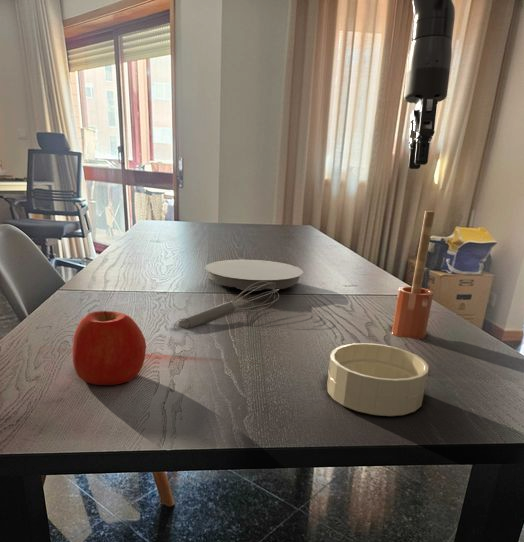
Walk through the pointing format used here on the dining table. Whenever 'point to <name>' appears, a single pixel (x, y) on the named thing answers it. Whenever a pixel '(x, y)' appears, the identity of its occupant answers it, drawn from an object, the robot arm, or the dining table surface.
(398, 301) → the crock
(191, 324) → the kitchen whisk
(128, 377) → the apple
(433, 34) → the robot arm
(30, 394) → the dining table surface
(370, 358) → the mixing bowl
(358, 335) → the dining table surface
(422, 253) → the wooden stick
